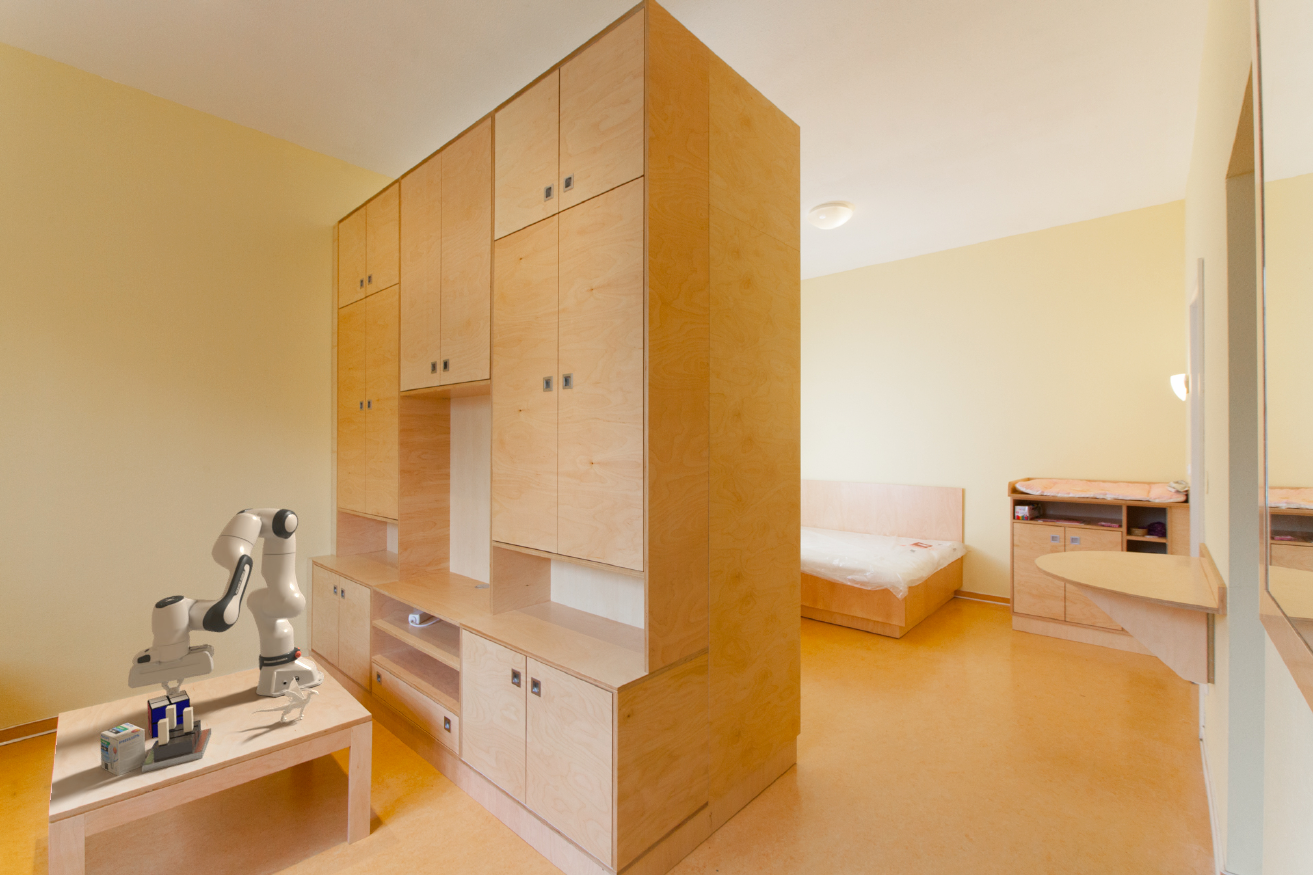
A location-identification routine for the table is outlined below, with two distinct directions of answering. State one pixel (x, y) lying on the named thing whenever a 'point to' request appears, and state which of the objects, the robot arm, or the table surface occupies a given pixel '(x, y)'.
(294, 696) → the dragon
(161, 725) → the handle
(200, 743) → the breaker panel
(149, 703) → the puzzle cube
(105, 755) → the light bulb box
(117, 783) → the table surface
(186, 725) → the handle
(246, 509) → the robot arm
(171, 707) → the handle
